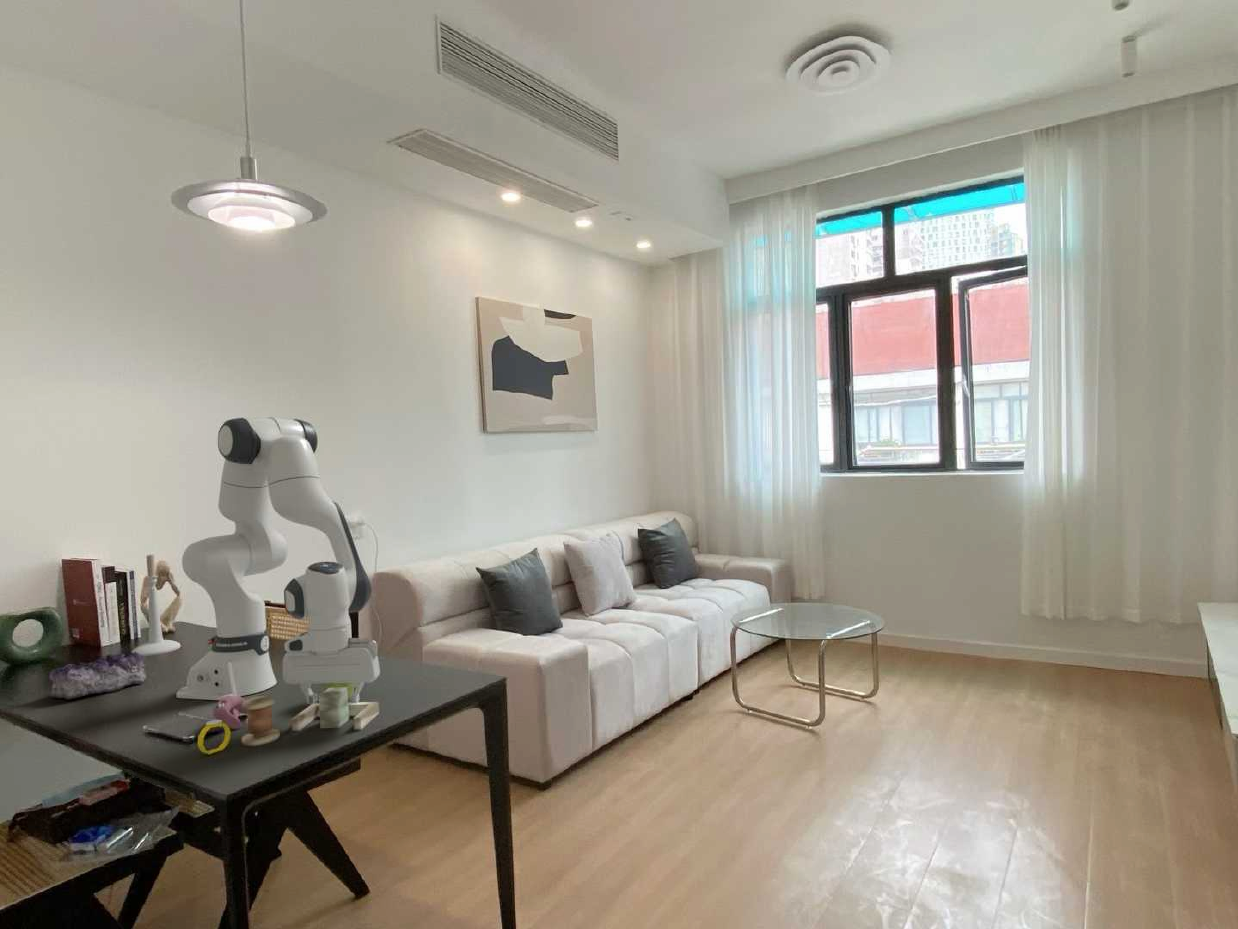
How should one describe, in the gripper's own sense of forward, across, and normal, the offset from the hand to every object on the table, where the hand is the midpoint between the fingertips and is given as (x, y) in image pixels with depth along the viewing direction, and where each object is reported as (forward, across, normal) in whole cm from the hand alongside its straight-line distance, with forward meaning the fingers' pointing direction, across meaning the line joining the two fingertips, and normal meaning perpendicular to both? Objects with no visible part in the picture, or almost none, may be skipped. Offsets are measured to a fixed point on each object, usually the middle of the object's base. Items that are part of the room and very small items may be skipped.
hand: (333, 702), depth 159 cm
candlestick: (+5, +87, -64) cm, 108 cm away
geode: (+5, +74, -26) cm, 79 cm away
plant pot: (+5, +6, -15) cm, 17 cm away
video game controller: (+5, +23, -2) cm, 24 cm away
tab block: (+4, 0, 0) cm, 5 cm away
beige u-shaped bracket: (+4, 0, 0) cm, 4 cm away
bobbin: (+4, +12, +8) cm, 15 cm away
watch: (+5, +18, +14) cm, 23 cm away
